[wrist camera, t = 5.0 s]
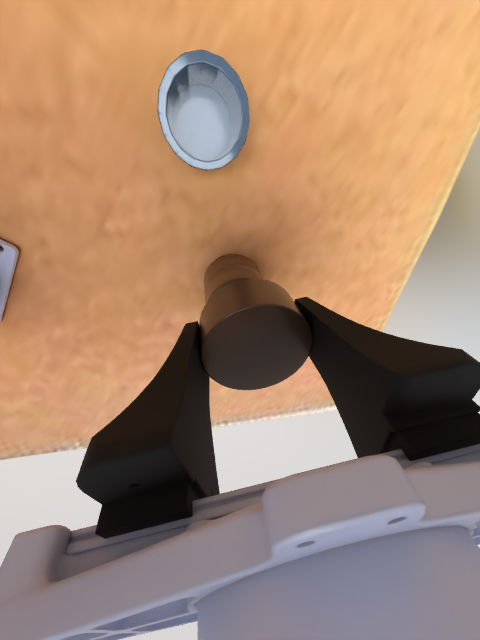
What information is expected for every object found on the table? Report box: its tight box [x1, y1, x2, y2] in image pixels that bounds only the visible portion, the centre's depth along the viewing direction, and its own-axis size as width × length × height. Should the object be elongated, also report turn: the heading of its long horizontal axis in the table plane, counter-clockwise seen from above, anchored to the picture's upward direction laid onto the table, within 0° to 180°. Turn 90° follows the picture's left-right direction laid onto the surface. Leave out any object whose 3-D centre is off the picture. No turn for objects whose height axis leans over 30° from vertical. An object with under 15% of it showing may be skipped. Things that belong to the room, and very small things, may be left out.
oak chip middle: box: [205, 265, 264, 303], centre depth 19 cm, size 5×5×2 cm
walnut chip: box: [199, 279, 313, 390], centre depth 12 cm, size 5×5×2 cm
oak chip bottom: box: [204, 254, 262, 290], centre depth 21 cm, size 5×5×2 cm
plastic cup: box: [158, 50, 250, 170], centre depth 13 cm, size 4×4×4 cm
